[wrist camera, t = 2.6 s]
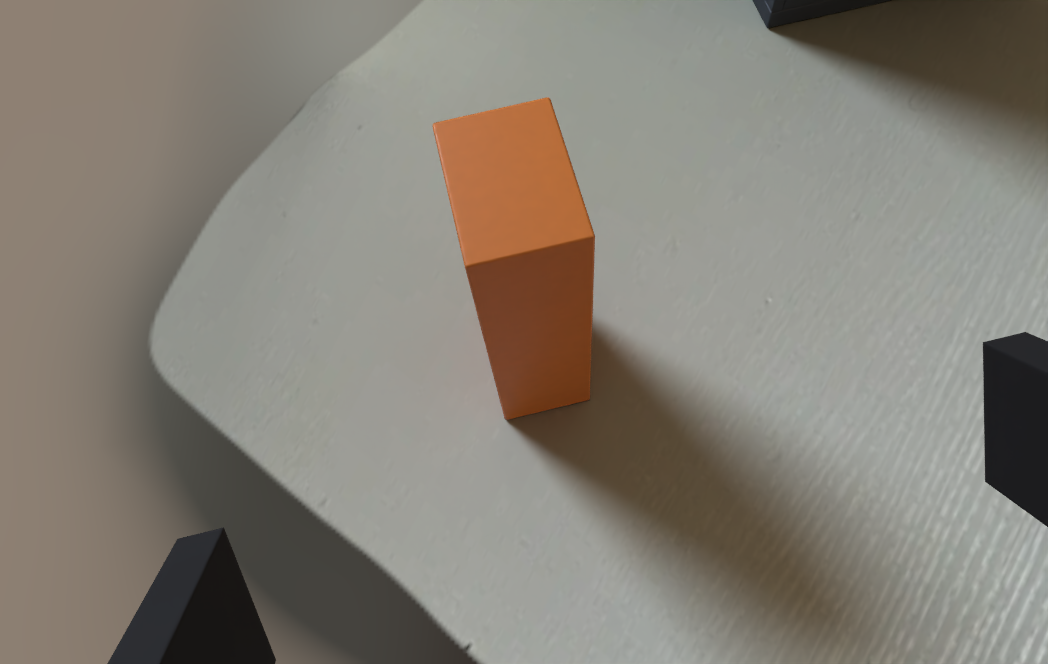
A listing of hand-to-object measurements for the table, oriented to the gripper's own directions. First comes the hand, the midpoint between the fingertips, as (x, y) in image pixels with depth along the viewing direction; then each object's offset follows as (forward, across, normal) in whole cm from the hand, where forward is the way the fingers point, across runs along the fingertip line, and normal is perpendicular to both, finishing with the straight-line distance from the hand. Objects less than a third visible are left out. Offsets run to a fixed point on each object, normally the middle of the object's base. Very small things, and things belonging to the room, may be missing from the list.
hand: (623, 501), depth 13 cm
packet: (+18, 0, -4) cm, 19 cm away
